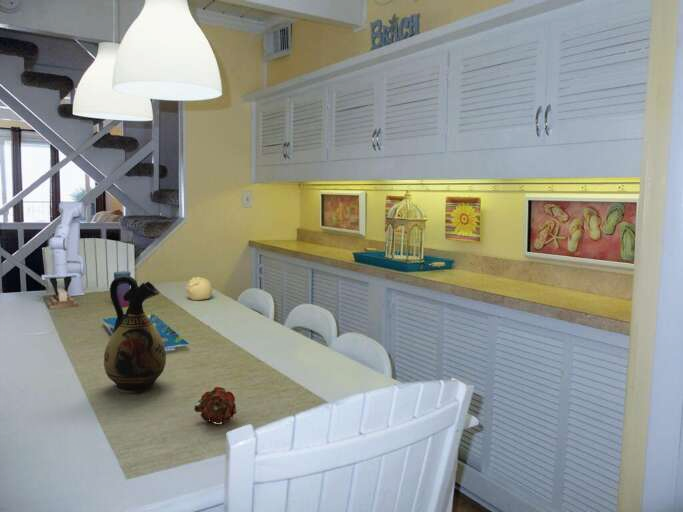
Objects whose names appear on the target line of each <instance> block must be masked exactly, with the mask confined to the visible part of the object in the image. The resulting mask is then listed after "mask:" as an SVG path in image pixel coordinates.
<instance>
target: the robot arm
mask: <svg viewBox="0 0 683 512" xmlns="http://www.w3.org/2000/svg"><path fill="white" fill-rule="evenodd" d="M58 212H59V214H60V216H61V217H60V223H59V224H58V225H57V226H56V227H55V231H54V235H53V237H52V238H51V237H50V239H49V249H50V254H51V257H52V258H51V259H52V260H51V261H52V273H49V274H41V280H42V281H46V280H49V282H50V283H51V285H52V287H53V290H54V295H56V296H58V291H57V288H58V280H59V279H60V280H62V279H63V282H64V285H63V286H64V290H65V291H66V292H67V294H69V295H70V296H71V297H76V296H85V295H86V293H85V292H84V286H83V285H84V284H83V283H84V282H83V276H85V274H86V272H87V266H86V265H87V264H86V260H85V258H84V257H82V256H81V255H80V233H81V232H80V229H81V221H84V220H85V204H84V202H82V201H79V202H78V201H77V202H76V201H61V202H59V204H58Z"/></svg>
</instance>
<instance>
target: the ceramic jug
mask: <svg viewBox="0 0 683 512" xmlns="http://www.w3.org/2000/svg"><path fill="white" fill-rule="evenodd" d="M125 283H127V284H129V285H130V290H129V291H127V292H126V294H125V295H124V297H123V298H124V300H125V301H129V306H128V307H127V309H126V311H125V313H124V310H123V307H121V304H120V300H119V297H118V293H117V288H118V286H119V285H120V284H125ZM109 293H110V294H109V295H110V299H111V301H112V304H113V307H114V310H115V312H116V313H115V314H116V320H115V323H114V327H113V331H112V334H111V335H110V337H109V339H108V341H107V344H106V347H105V351H104V356H103V368H104V371H105V374H106V375H107V378H109V379H110V381H112V382H113V383H114V384H115V390H116V391H118V392H121V393H123V394H132V395H135V394H134V393H141V394H143V393H146V392H149V391H148V390H150V391H152V390H153V389H152V388H154V389H155V383H156V381H157V380H158V379H159V377H160V376H161V375H162V374H163V372H164V370H165V367H166V364H167V363H166V362H167V353H166V349H165V345H164V341H163V339H162V336H161V334H160V332H159V331H158V329H157V327H155V324H154V323H153V322H152V320H151V319H150V318H149V316H148V315H147V314H146V312H145V311H144V307H143V303H144V302H145V301H146V300H148V299H150V298H153V297H155V296H158V295H159V294H160V292H159V290H158V289H157V288H156V287H155V285H153V283H151V282H150V281H146V282H142V283H141V284H140V285H138V283H137V280H136V279H135V278H133V277H132V276H131V275H130V276H126V275H122V276H119V277H117V278H115V279H114V278H113V280H112V282H111V283H110V287H109ZM151 389H152V390H151ZM145 391H146V392H145ZM142 392H143V393H142Z"/></svg>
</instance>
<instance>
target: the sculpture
mask: <svg viewBox="0 0 683 512" xmlns="http://www.w3.org/2000/svg"><path fill="white" fill-rule="evenodd" d="M185 291H186V292H185V293H186V294H187V297H188V298H189V299H191V301H201V300H209V299H210V298H211V297H212V293H213V285H212V283H211V281H210V280H209V279H207V278H205V277H202V276H196V277H192V278H191V279H189V280H188V283H186V286H185Z"/></svg>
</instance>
